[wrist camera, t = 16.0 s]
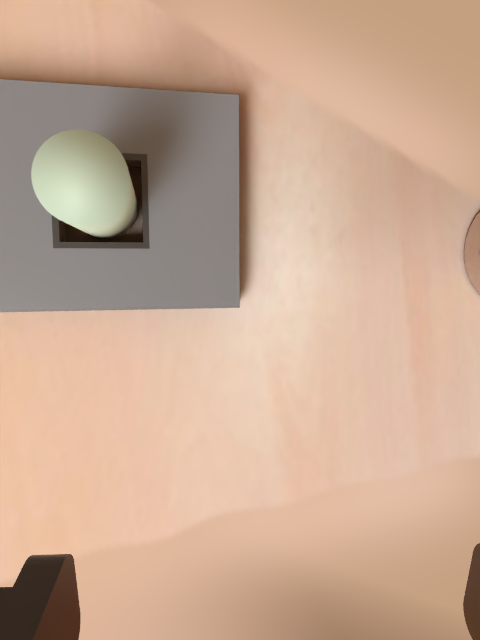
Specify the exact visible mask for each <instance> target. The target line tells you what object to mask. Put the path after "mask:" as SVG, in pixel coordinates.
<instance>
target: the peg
mask: <svg viewBox="0 0 480 640" xmlns="http://www.w3.org/2000/svg"><path fill="white" fill-rule="evenodd" d="M31 178H32V185H33V189H34V191H35V194H36V196H37V198H38V200H39V202H40V203H41V204H42V206H43V207H44V208H45V209H46V210H47V211H48V212H49V213H50V214H51V215H53V216H54V217H56V218H57V219H59V220H61V221H63V222H65V223H67V224H69V225H71V226H73V227H75V228H77V229H79V230H81V231H83V232H85V233H87V234H89V235H92V236H94V237H97V238H102V239H110V238H115V237H118V236H120V235H122V234H124V233H125V232H126V231H128V230H129V229H130V227H131V226H132V225H133V223H134V221H135V219H136V216H137V210H138V205H137V199H136V195H135V192H134V188H133V185H132V181H131V178H130V174H129V170H128V167H127V164H126V161H125V159H124V157H123V156H122V154H121V153H120V151H119V150H118V149H117V147H116V146H115V145H114V144H113V143H112V142H110V141H109V140H108V139H106V138H105V137H103V136H101V135H99V134H97V133H95V132H92V131H88V130H81V129H72V130H66V131H62V132H59V133H57V134H55V135H53V136H52V137H50V138H49V139H48V140H46V141H45V142H44V143H43V144H42V145H41V147H40V148H39V150H38V151H37V153H36V155H35V157H34V160H33V163H32V169H31Z"/></svg>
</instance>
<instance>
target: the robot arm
mask: <svg viewBox="0 0 480 640" xmlns="http://www.w3.org/2000/svg"><path fill="white" fill-rule="evenodd" d="M464 261H465V267H466V271H467V275H468V277H469V279H470V281H471V284H472V286H473V287H474V288H475V289H476V291H477V292H478V293H479V294H480V212H479V213H478V214H477V216H476V217H475V219H474V221H473V222H472V224H471V226H470V228H469V231H468V234H467V237H466V241H465V248H464ZM463 605H464V606H463V607H464V616H465V620H466V624H467V627H468V630H469V633H470V635H471V637H472V639H473V640H480V544H477V545H476V546H475V548H474V551H473V556H472V561H471V566H470V571H469V576H468V581H467V587H466V591H465V596H464V603H463ZM79 632H80V607H79V600H78V590H77V582H76V573H75V565H74V559H73V556H72V555H71V554H59V555H32V556H30V557H29V558H28V559H27V560H26V562H25V564H24V566H23V568H22V570H21V572H20V574H19V576H18V578H17V580H16V582H15V584H14V586H13V587H0V640H78V639H79Z"/></svg>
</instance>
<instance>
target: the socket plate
mask: <svg viewBox="0 0 480 640" xmlns="http://www.w3.org/2000/svg"><path fill="white" fill-rule="evenodd" d="M72 129H81V130H88V131H92V132H95V133H97V134H99V135H101V136H103V137H105V138H106V139H108V140H109V141H110V142H112V143H113V144H114V145H115V146H116V147H117V149H118V150H119V151H120V153H121V154H122V156H123V157H124V159H125V161H126V164H127V167H141V178H142V215H143V242H66V241H65V222H63V221H61V220H59V219H57V218H56V217H54V216H53V215H51V214H50V213H49V212H48V211H47V210H46V209H45V208H44V207H43V206H42V204H41V203H40V202H39V200H38V198H37V196H36V194H35V191H34V189H33V185H32V178H31V169H32V163H33V160H34V157H35V155H36V153H37V151H38V150H39V148H40V147H41V145H42V144H43V143H44V142H45V141H46V140H48V139H49V138H50V137H52V136H53V135H55V134H57V133H59V132H62V131H66V130H72ZM191 308H240V279H239V95H235V94H220V93H205V92H189V91H174V90H159V89H143V88H128V87H113V86H97V85H82V84H67V83H52V82H36V81H21V80H6V79H0V312H34V311H86V310H138V309H191Z"/></svg>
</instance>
